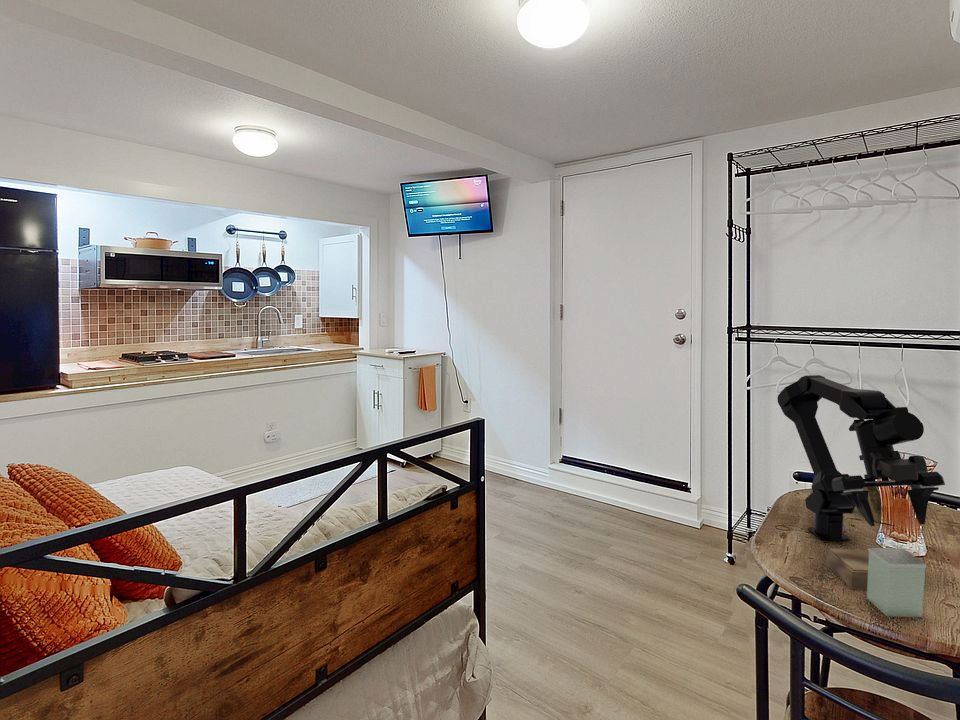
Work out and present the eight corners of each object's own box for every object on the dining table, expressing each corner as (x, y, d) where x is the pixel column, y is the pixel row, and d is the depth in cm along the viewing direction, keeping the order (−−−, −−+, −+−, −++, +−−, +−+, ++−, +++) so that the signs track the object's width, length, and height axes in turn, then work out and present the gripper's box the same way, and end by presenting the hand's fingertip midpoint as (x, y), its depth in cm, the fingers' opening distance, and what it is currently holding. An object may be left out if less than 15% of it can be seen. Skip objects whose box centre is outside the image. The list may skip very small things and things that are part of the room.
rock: (847, 496, 148) (844, 503, 140) (872, 475, 145) (870, 481, 137) (885, 527, 143) (884, 536, 135) (911, 506, 140) (912, 514, 132)
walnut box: (825, 566, 117) (826, 547, 116) (875, 567, 115) (876, 548, 115) (851, 590, 107) (852, 570, 106) (906, 592, 106) (907, 572, 105)
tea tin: (865, 597, 104) (868, 547, 103) (900, 598, 103) (903, 548, 102) (886, 616, 98) (889, 563, 96) (923, 617, 97) (926, 564, 96)
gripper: (847, 445, 107) (867, 526, 102) (950, 439, 104) (976, 522, 100) (823, 453, 118) (840, 527, 113) (916, 447, 115) (938, 523, 110)
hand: (897, 525), depth 109 cm, fingers open, 9 cm apart
